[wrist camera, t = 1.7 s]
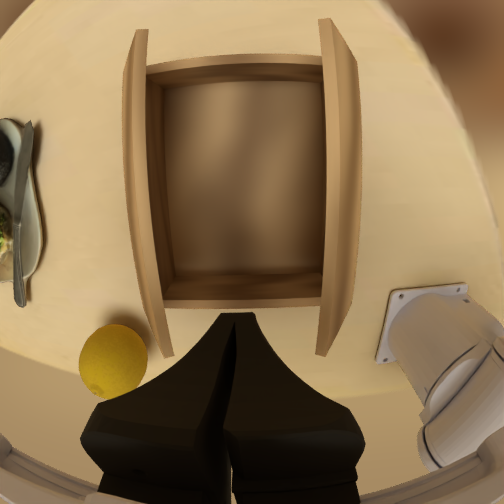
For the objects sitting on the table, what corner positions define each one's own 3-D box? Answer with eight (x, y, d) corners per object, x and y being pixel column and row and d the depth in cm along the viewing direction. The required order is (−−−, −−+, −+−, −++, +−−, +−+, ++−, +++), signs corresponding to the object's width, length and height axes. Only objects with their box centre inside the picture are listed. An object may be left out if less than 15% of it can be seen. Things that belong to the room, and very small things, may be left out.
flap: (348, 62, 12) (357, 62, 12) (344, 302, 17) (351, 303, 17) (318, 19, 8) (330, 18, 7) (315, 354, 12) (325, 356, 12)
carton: (326, 78, 17) (344, 58, 12) (325, 276, 21) (341, 304, 17) (158, 84, 17) (135, 68, 13) (171, 279, 22) (154, 307, 17)
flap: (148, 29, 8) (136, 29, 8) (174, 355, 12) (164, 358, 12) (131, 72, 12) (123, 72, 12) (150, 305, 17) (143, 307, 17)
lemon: (123, 360, 25) (92, 417, 17) (94, 315, 23) (51, 367, 15) (168, 351, 24) (143, 416, 16) (139, 301, 22) (99, 359, 15)
